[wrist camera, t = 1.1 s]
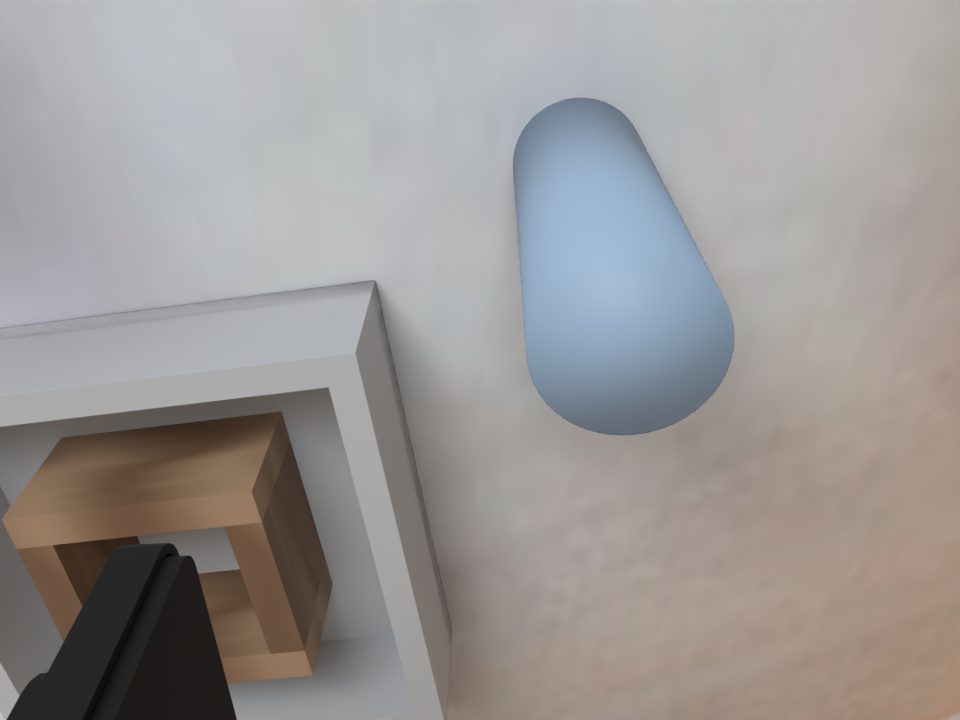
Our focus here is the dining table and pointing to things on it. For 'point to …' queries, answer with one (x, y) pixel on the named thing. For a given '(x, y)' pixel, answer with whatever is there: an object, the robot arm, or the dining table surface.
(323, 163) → the dining table surface
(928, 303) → the dining table surface
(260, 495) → the socket
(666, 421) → the peg
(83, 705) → the robot arm
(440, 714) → the box
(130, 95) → the dining table surface
